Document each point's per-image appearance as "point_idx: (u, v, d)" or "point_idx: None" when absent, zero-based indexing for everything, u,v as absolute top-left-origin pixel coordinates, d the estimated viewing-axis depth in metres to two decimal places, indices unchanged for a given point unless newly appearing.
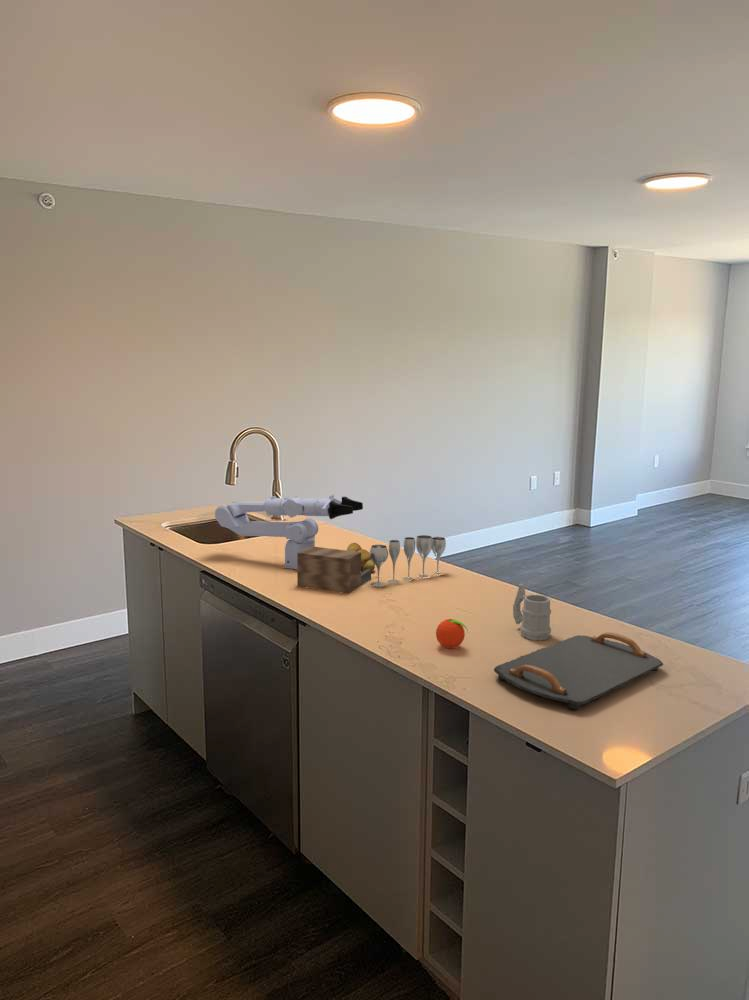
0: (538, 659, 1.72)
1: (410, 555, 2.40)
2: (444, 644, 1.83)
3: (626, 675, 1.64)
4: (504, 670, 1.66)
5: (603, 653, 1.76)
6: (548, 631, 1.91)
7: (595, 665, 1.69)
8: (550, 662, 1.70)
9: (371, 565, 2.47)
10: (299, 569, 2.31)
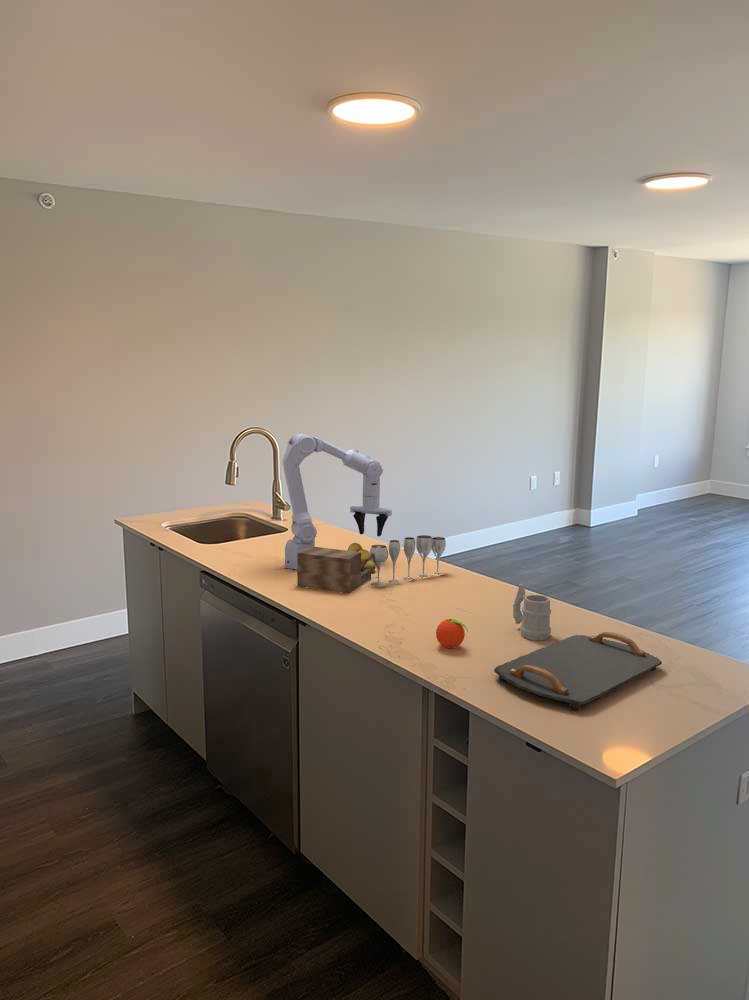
0: (538, 659, 1.72)
1: (410, 555, 2.40)
2: (444, 644, 1.83)
3: (626, 674, 1.65)
4: (504, 670, 1.66)
5: (602, 652, 1.77)
6: (548, 631, 1.91)
7: (594, 664, 1.70)
8: (550, 662, 1.71)
9: (372, 566, 2.47)
10: (299, 569, 2.31)
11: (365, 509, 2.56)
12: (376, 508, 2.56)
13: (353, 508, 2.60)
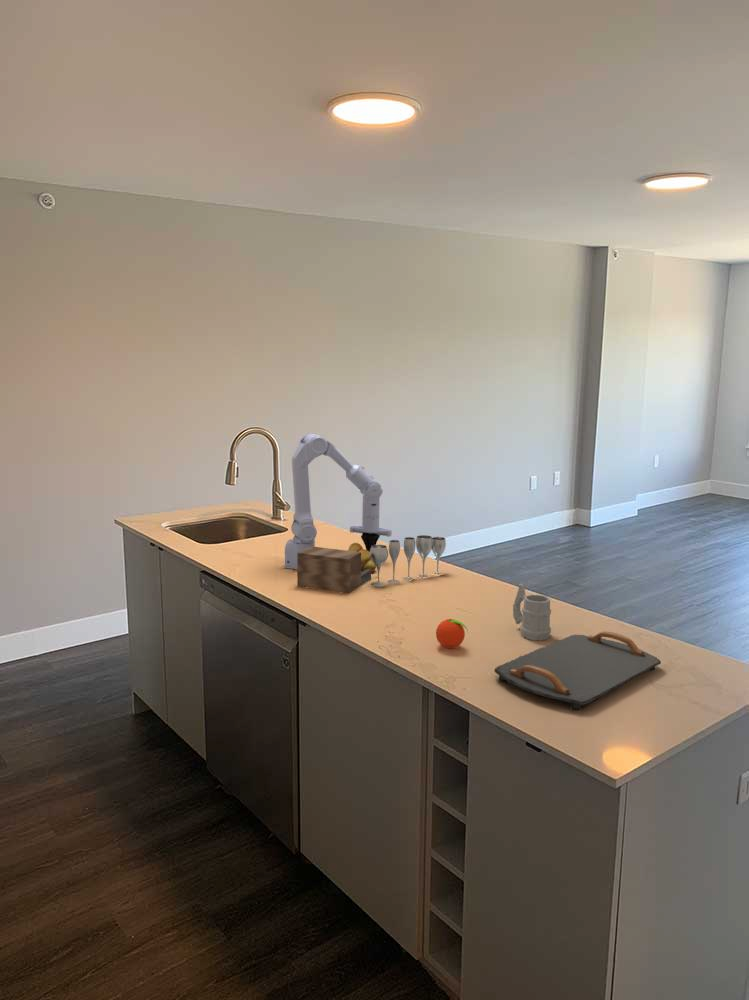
0: (537, 659, 1.72)
1: (410, 555, 2.40)
2: (444, 644, 1.83)
3: (626, 674, 1.65)
4: (505, 671, 1.66)
5: (601, 652, 1.77)
6: (548, 631, 1.91)
7: (594, 664, 1.70)
8: (549, 662, 1.71)
9: (372, 566, 2.47)
10: (299, 569, 2.31)
11: (365, 529, 2.58)
12: (376, 528, 2.58)
13: (353, 528, 2.61)
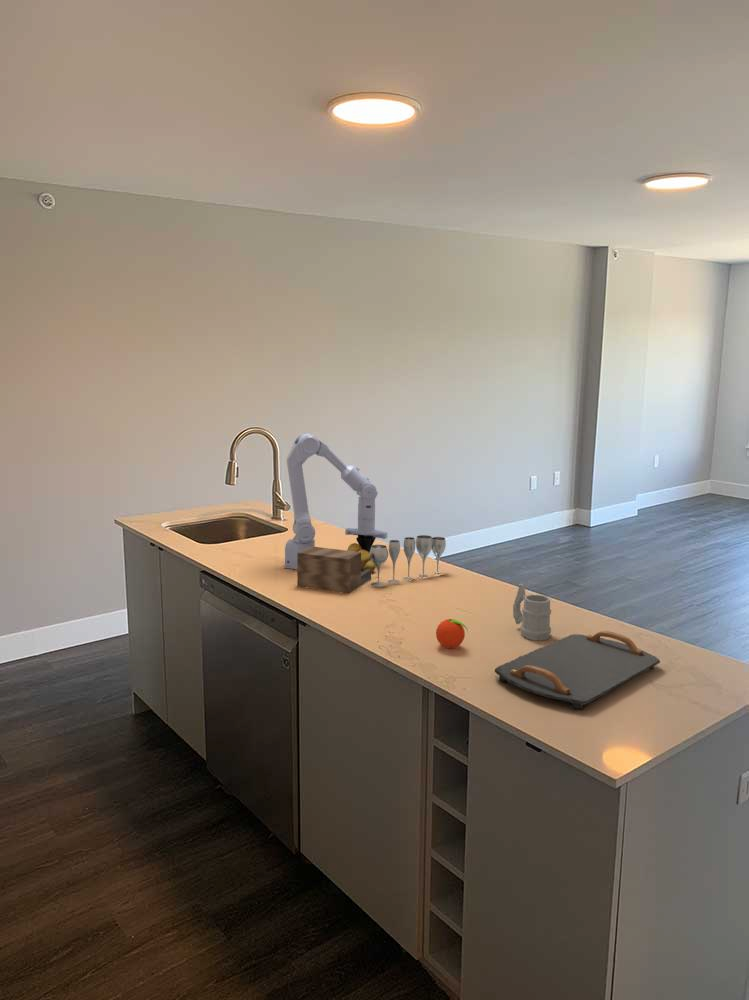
0: (537, 659, 1.72)
1: (410, 555, 2.40)
2: (444, 644, 1.83)
3: (626, 673, 1.65)
4: (505, 671, 1.66)
5: (600, 652, 1.77)
6: (548, 631, 1.91)
7: (594, 664, 1.70)
8: (549, 662, 1.71)
9: (371, 566, 2.46)
10: (299, 569, 2.31)
11: (360, 532, 2.54)
12: (371, 531, 2.54)
13: (348, 530, 2.58)
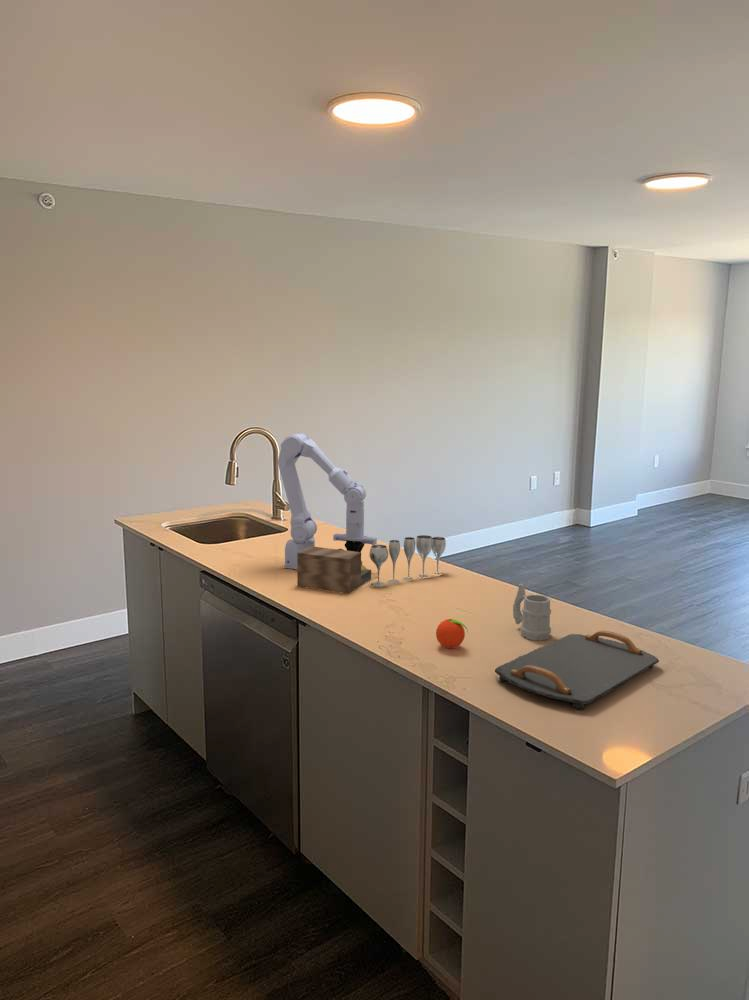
0: (537, 659, 1.72)
1: (410, 555, 2.40)
2: (444, 644, 1.83)
3: (625, 673, 1.66)
4: (505, 671, 1.65)
5: (599, 651, 1.78)
6: (548, 631, 1.91)
7: (593, 663, 1.70)
8: (549, 662, 1.71)
9: None
10: (299, 569, 2.31)
11: (349, 537, 2.46)
12: (360, 536, 2.46)
13: (336, 536, 2.49)
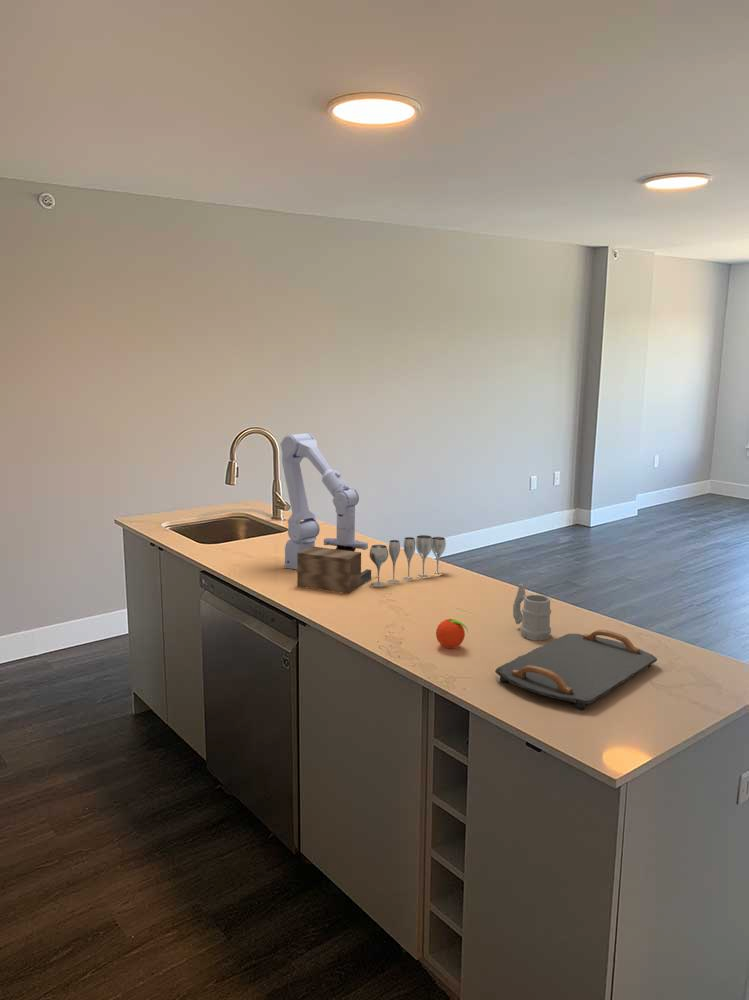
0: (536, 659, 1.72)
1: (410, 555, 2.40)
2: (444, 644, 1.83)
3: (625, 672, 1.66)
4: (506, 671, 1.65)
5: (598, 650, 1.78)
6: (548, 631, 1.91)
7: (593, 663, 1.71)
8: (549, 662, 1.71)
9: None
10: (299, 569, 2.31)
11: (339, 542, 2.39)
12: (351, 541, 2.40)
13: (327, 541, 2.43)
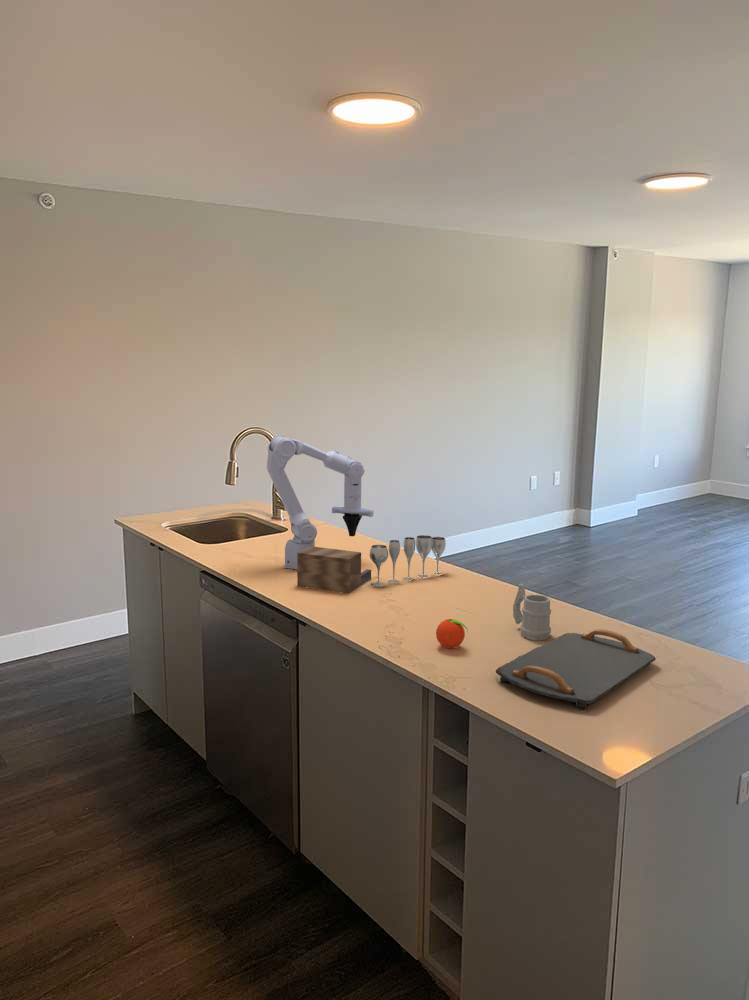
0: (536, 659, 1.72)
1: (410, 555, 2.40)
2: (444, 644, 1.83)
3: (625, 671, 1.66)
4: (506, 672, 1.65)
5: (596, 650, 1.78)
6: (548, 631, 1.91)
7: (592, 662, 1.71)
8: (549, 662, 1.71)
9: None
10: (299, 569, 2.31)
11: (346, 510, 2.55)
12: (357, 509, 2.55)
13: (335, 509, 2.58)
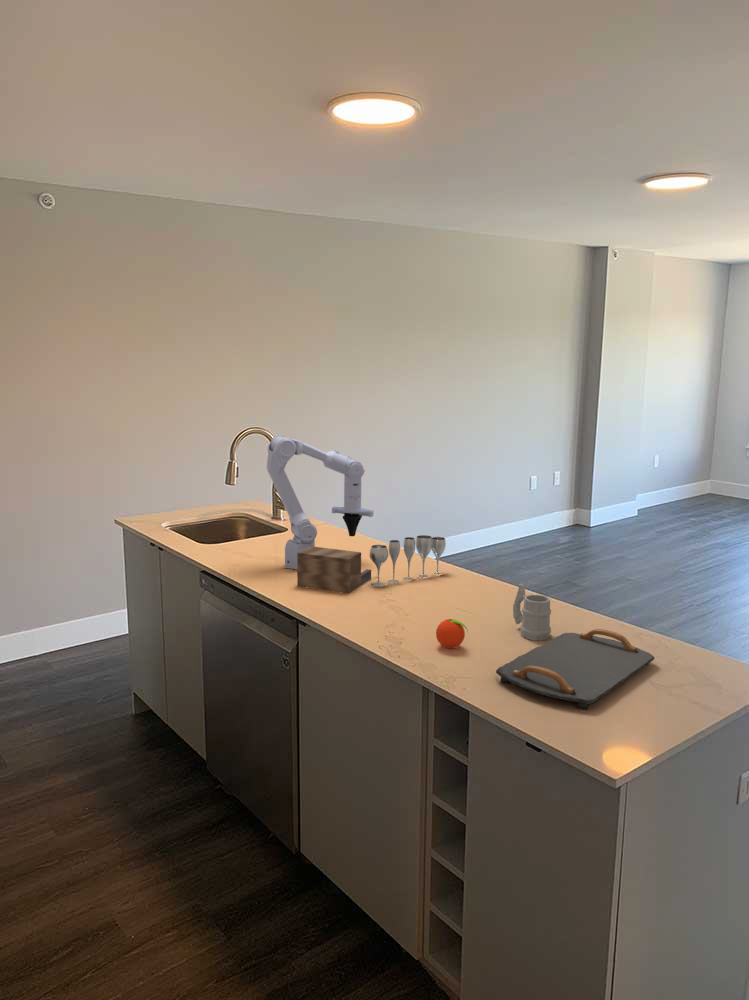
0: (536, 659, 1.72)
1: (410, 555, 2.40)
2: (444, 644, 1.83)
3: (624, 671, 1.67)
4: (507, 672, 1.65)
5: (595, 650, 1.78)
6: (548, 631, 1.91)
7: (592, 662, 1.71)
8: (548, 662, 1.71)
9: None
10: (299, 569, 2.31)
11: (346, 510, 2.55)
12: (357, 509, 2.55)
13: (335, 509, 2.58)
